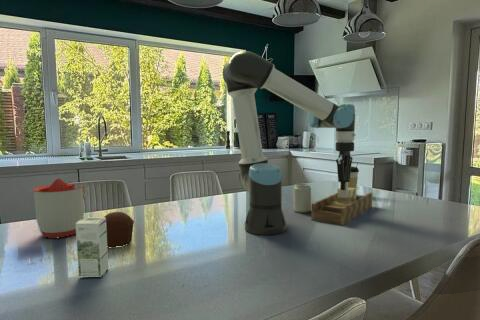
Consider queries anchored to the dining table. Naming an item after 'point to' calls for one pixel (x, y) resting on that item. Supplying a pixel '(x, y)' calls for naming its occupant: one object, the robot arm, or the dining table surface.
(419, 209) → the dining table surface
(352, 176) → the coffee cup
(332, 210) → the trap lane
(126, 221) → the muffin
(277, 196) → the robot arm
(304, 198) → the can
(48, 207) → the citrus juicer
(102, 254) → the syrup box
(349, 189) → the maple block
